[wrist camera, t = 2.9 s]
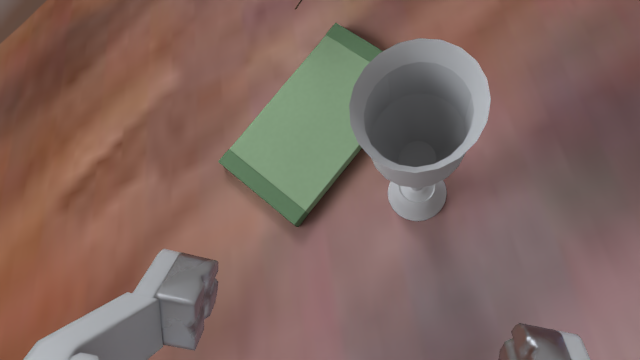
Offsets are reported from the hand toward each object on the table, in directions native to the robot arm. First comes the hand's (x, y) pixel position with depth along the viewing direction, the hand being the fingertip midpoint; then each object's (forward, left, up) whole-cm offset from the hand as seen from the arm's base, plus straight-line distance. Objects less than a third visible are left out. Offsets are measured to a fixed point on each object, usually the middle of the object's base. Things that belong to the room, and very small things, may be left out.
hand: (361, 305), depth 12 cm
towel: (-9, -16, -26) cm, 32 cm away
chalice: (-9, -5, -26) cm, 28 cm away
